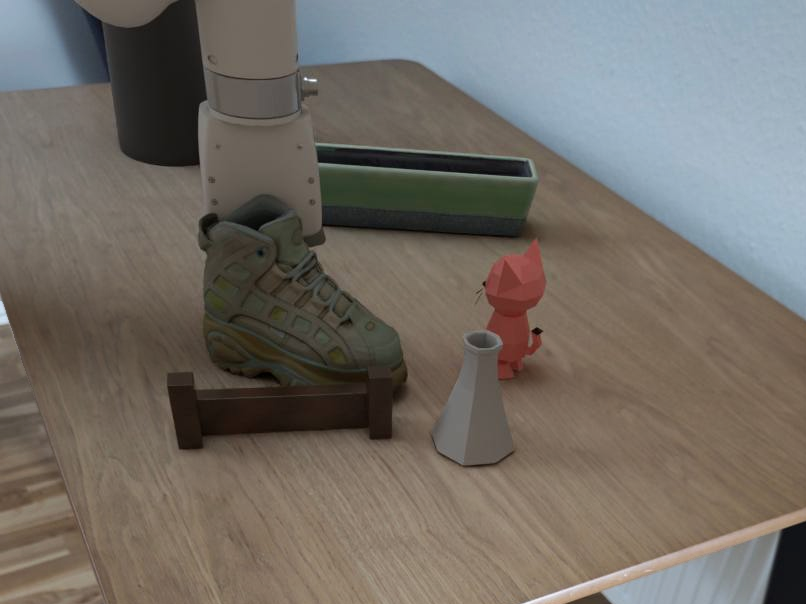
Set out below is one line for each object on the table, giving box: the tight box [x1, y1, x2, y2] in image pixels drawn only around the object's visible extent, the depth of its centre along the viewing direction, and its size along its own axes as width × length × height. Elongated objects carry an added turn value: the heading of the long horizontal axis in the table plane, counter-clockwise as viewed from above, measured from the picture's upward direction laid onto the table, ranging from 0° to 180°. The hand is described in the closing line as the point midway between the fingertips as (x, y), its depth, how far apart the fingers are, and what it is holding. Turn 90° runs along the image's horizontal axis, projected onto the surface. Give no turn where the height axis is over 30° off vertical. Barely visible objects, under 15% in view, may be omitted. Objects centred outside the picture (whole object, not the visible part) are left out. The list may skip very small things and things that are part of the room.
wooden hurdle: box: [166, 365, 394, 450], centre depth 75 cm, size 18×3×6 cm, turn 102°
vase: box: [101, 0, 207, 167], centre depth 108 cm, size 14×14×29 cm
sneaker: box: [197, 194, 409, 394], centre depth 79 cm, size 11×19×15 cm, turn 59°
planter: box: [315, 142, 539, 237], centre depth 107 cm, size 28×7×7 cm, turn 94°
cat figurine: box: [474, 237, 547, 380], centre depth 83 cm, size 7×7×12 cm
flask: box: [430, 329, 516, 466], centre depth 75 cm, size 7×7×10 cm
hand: (272, 304), depth 86 cm, fingers closed
